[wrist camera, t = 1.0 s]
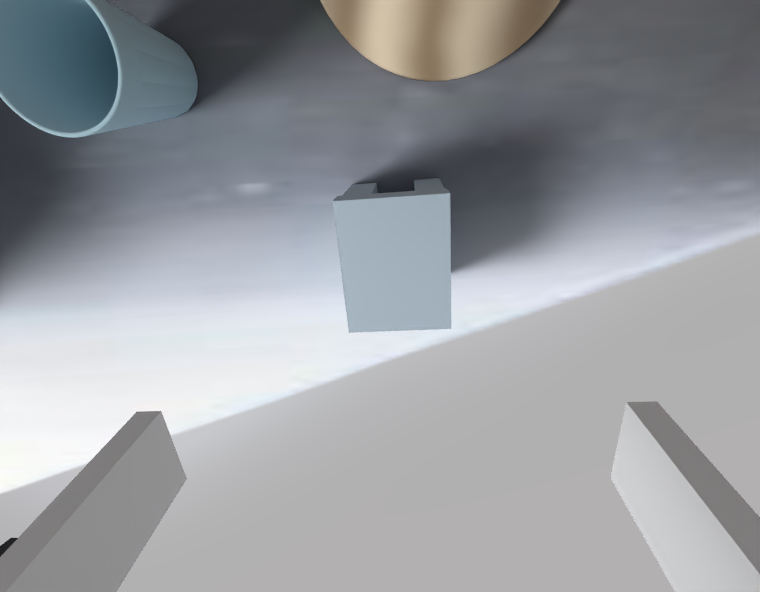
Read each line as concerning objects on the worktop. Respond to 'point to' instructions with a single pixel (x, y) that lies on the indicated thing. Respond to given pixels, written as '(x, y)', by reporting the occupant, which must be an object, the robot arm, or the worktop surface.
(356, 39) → the wooden disc
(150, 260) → the worktop surface
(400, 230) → the grey slotted block
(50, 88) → the cup
